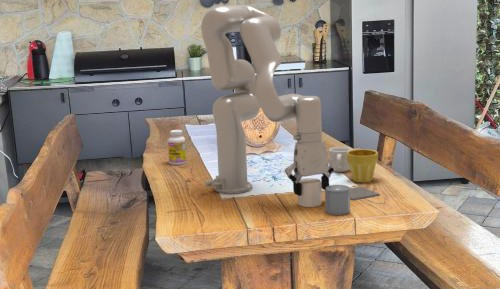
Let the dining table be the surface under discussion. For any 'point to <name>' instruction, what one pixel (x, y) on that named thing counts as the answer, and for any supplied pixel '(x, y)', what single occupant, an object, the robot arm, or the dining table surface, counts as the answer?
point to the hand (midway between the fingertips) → (311, 192)
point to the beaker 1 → (310, 192)
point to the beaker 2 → (337, 199)
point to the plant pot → (362, 164)
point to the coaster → (361, 193)
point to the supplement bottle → (177, 148)
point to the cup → (340, 158)
